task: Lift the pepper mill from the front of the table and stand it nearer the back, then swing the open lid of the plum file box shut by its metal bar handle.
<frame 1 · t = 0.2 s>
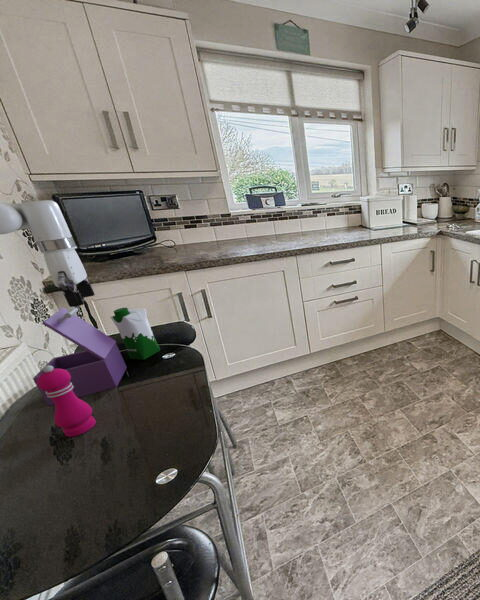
hand: (83, 300, 100), 29 cm above the table, tool pointing down, fingers open, 9 cm apart
pepper mill: (81, 429, 89), on the table
milk carton: (146, 354, 127), on the table
file box: (91, 385, 110), on the table
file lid: (88, 329, 105), point 19 cm above the table, hinge at 60.0°
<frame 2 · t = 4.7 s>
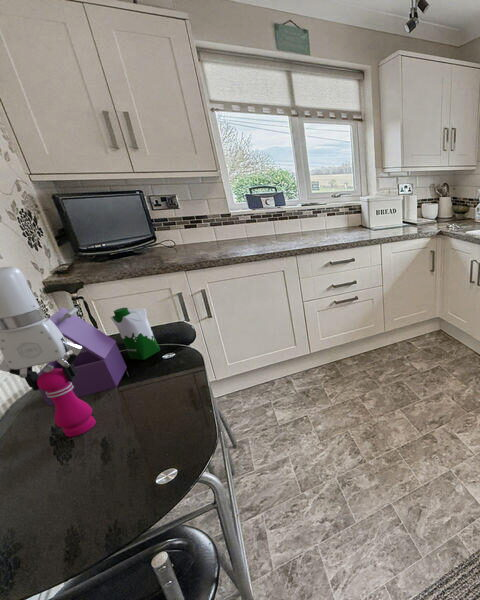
hand: (55, 382, 84), 15 cm above the table, tool pointing down, fingers closed on pepper mill, 6 cm apart
pepper mill: (81, 429, 89), on the table, touching gripper
everything else where it was.
when the fingers open (15 cm above the table, at t = 11.2 s): pepper mill stays where it is, on the table.
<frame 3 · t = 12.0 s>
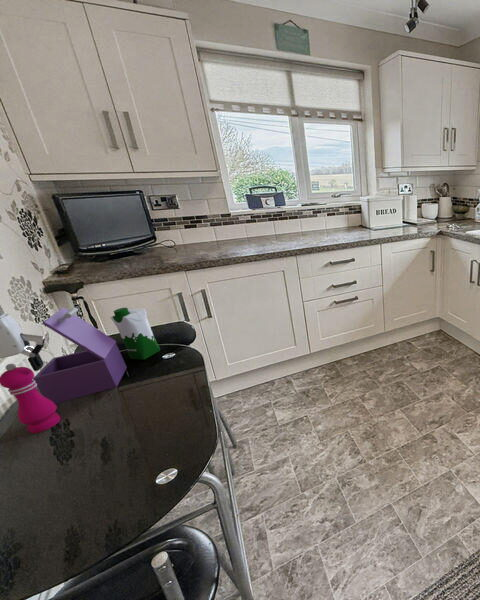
hand: (14, 374, 85), 17 cm above the table, tool pointing down, fingers open, 9 cm apart
pepper mill: (45, 425, 92), on the table
everything else where it was.
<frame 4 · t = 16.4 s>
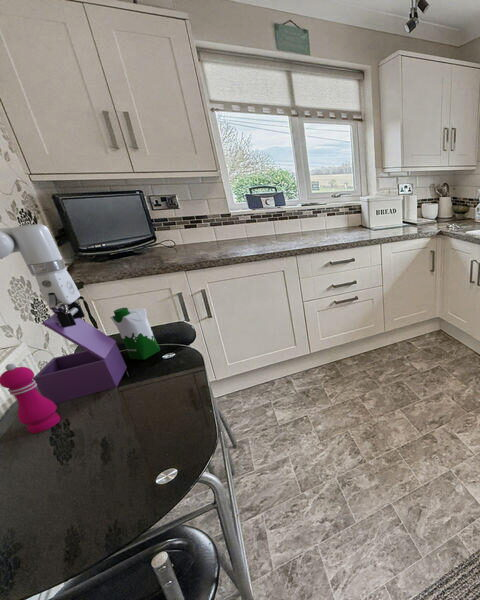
hand: (74, 321, 103), 23 cm above the table, tool pointing down, fingers closed on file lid, 7 cm apart
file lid: (87, 329, 105), point 19 cm above the table, hinge at 59.7°, touching gripper
everything else where it was.
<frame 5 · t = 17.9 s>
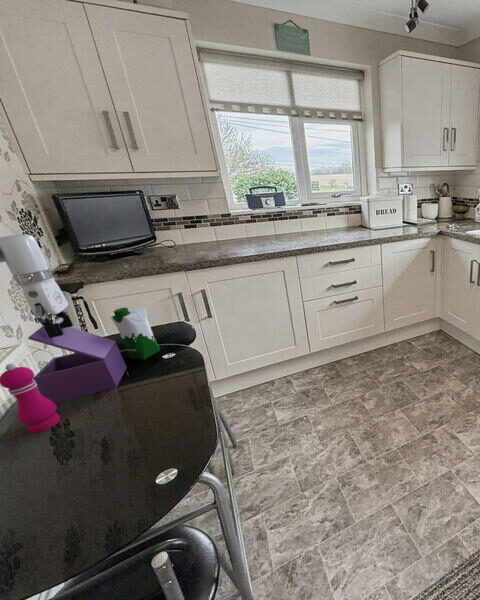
hand: (61, 331, 102), 20 cm above the table, tool pointing down, fingers open, 7 cm apart
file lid: (79, 335, 104), point 18 cm above the table, hinge at 41.9°, touching gripper
everything else where it was.
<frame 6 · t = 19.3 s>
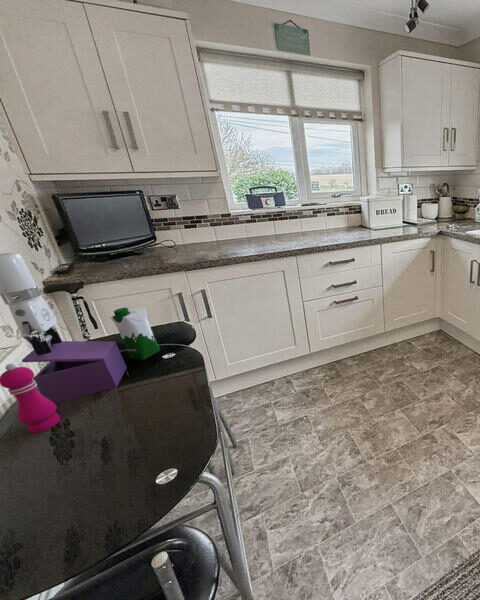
hand: (50, 348, 102), 16 cm above the table, tool pointing down, fingers open, 7 cm apart
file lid: (73, 345, 104), point 15 cm above the table, hinge at 18.1°, touching gripper
everything else where it was.
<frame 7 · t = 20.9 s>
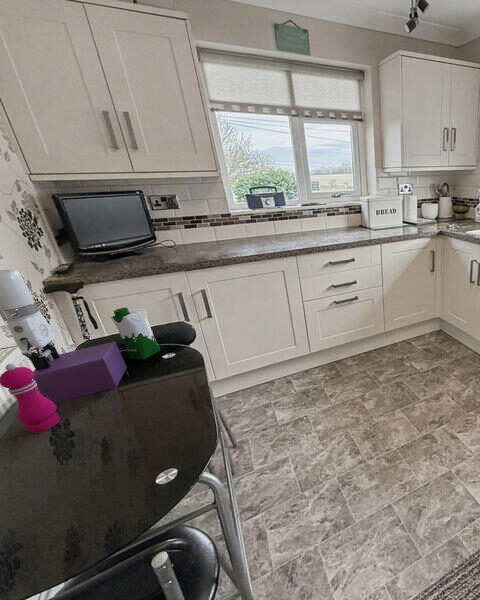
hand: (48, 363, 103), 11 cm above the table, tool pointing down, fingers closed on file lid, 6 cm apart
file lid: (72, 353, 105), point 12 cm above the table, hinge at -0.2°, touching file box, gripper
everything else where it was.
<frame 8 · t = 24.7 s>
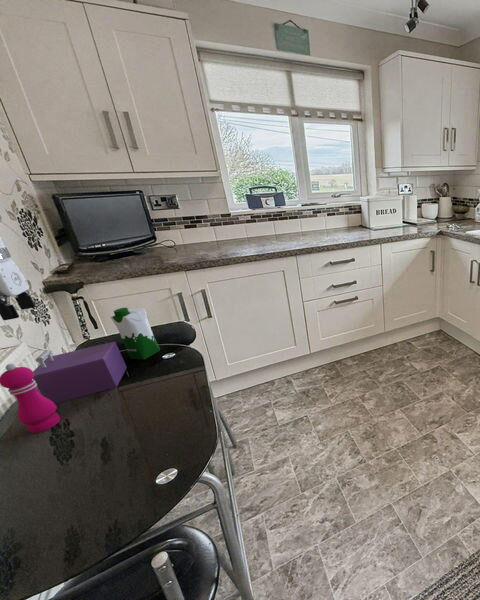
hand: (20, 313, 97), 28 cm above the table, tool pointing down, fingers open, 9 cm apart
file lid: (72, 353, 105), point 12 cm above the table, hinge at -0.2°, touching file box
everything else where it was.
at the end: pepper mill inside the target area (0.1 cm from its centre), on the table; pepper mill tilted 0°; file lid at +0° (first picture: +60°) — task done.
